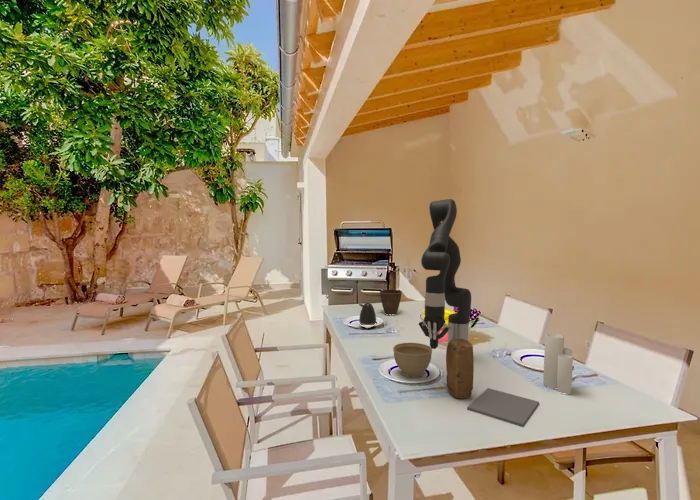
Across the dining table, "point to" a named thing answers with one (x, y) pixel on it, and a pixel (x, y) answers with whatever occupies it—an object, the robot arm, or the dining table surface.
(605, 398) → the dining table surface
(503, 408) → the flat gray panel
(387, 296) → the plant pot
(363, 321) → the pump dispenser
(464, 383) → the block
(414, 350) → the planter bowl
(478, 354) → the dining table surface
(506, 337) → the dining table surface
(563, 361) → the vase
